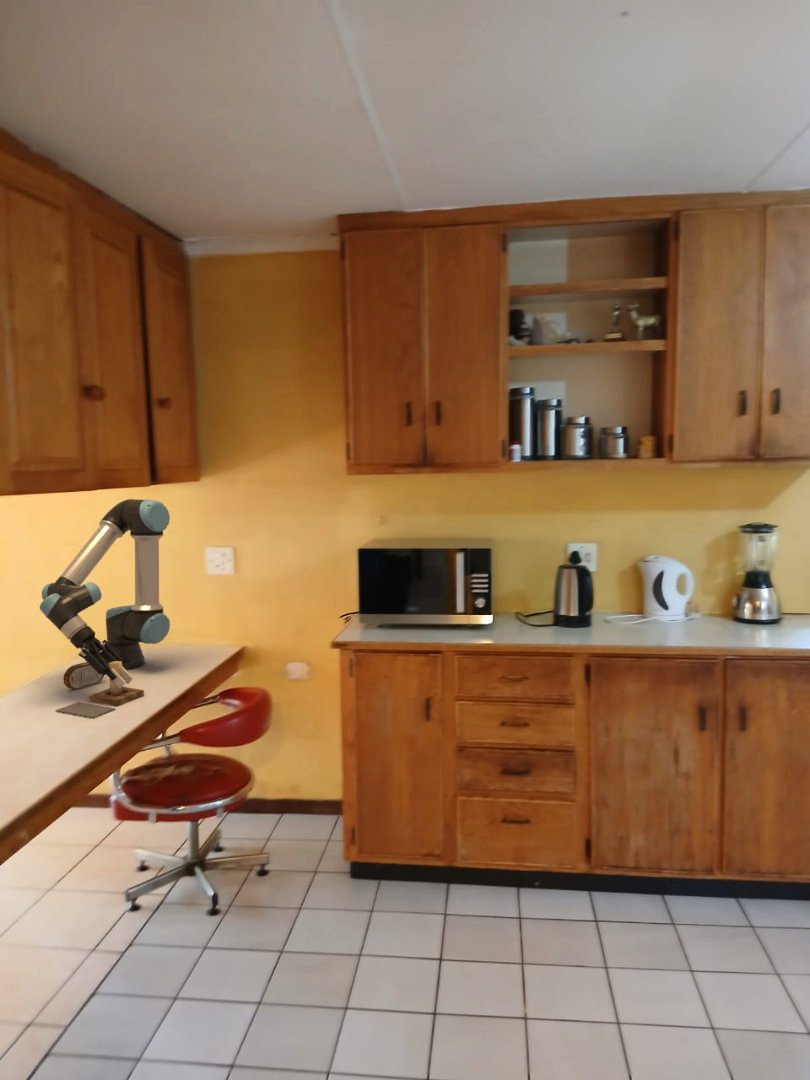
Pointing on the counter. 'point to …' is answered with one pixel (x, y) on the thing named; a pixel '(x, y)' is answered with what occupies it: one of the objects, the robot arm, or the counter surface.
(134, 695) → the slot block
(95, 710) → the mat
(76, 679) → the tin
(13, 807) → the counter surface
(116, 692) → the peg
